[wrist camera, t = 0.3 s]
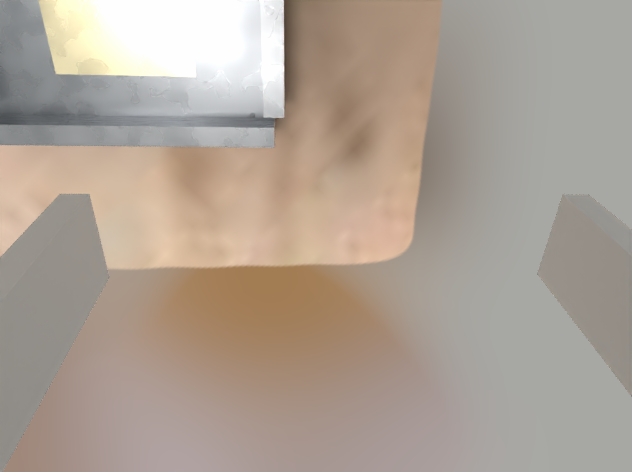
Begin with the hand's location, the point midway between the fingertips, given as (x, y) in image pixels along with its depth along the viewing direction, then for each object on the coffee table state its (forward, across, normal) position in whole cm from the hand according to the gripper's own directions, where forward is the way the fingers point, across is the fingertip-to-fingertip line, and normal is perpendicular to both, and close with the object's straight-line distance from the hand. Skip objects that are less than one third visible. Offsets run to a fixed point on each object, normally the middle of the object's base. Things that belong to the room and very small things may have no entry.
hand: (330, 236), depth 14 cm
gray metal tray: (+26, -13, +3) cm, 30 cm away
